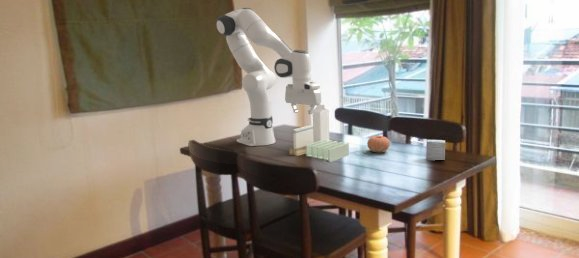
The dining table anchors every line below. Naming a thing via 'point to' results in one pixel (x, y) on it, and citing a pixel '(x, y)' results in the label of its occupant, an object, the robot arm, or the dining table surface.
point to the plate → (303, 136)
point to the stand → (298, 151)
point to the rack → (327, 150)
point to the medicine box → (435, 150)
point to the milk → (320, 124)
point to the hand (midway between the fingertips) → (303, 113)
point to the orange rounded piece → (378, 144)
